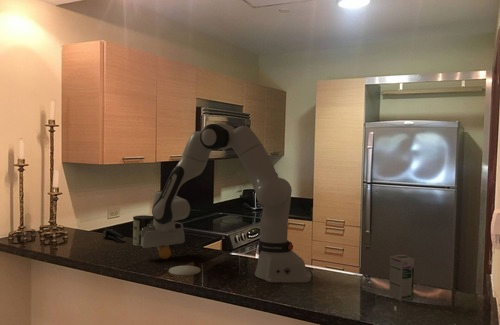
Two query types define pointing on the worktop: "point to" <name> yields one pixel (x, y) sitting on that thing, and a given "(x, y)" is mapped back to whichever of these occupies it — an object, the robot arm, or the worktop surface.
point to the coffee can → (140, 227)
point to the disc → (184, 270)
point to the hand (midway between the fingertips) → (163, 255)
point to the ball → (164, 252)
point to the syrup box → (401, 277)
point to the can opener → (112, 235)
